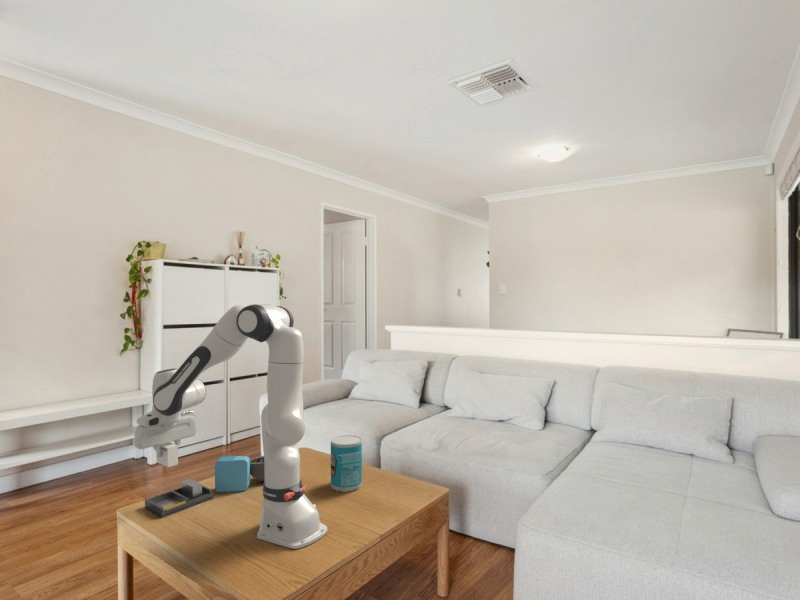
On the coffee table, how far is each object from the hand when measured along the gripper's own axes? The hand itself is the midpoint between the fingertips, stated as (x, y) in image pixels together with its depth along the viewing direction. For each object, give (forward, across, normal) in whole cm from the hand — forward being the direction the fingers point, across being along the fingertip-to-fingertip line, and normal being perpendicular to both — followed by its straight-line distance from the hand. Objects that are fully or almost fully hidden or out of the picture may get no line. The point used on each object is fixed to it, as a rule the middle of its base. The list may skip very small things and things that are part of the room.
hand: (167, 454), depth 159 cm
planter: (+19, -37, +9) cm, 43 cm away
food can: (+19, -50, +38) cm, 66 cm away
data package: (+19, -22, +5) cm, 30 cm away
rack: (+18, -4, 0) cm, 19 cm away
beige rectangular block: (+3, 0, 0) cm, 3 cm away
